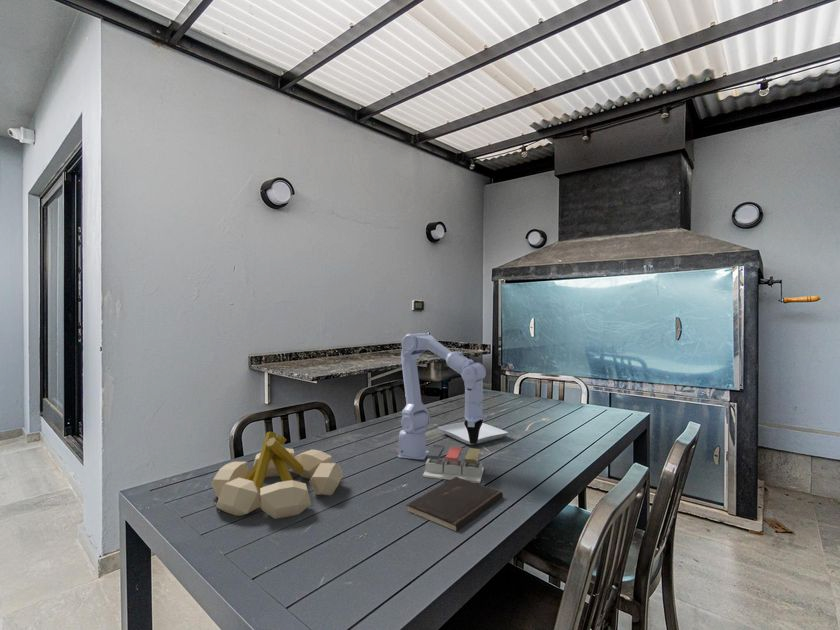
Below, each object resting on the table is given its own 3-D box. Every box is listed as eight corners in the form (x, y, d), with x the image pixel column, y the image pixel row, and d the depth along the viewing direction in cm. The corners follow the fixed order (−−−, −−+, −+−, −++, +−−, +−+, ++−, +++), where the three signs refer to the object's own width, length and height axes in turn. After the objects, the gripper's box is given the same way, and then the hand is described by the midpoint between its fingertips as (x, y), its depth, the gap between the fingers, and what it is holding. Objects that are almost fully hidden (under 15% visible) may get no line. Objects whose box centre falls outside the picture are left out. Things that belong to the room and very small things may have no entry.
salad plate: (509, 439, 170) (509, 431, 169) (469, 449, 158) (469, 440, 157) (474, 426, 187) (474, 419, 187) (436, 435, 175) (436, 426, 175)
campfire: (281, 461, 145) (281, 412, 144) (362, 481, 129) (362, 426, 129) (184, 504, 114) (183, 442, 113) (274, 537, 98) (274, 465, 98)
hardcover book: (406, 512, 110) (406, 504, 110) (455, 484, 128) (456, 476, 128) (456, 534, 100) (456, 525, 100) (502, 500, 118) (503, 491, 118)
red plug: (445, 469, 130) (445, 457, 130) (451, 458, 140) (451, 446, 140) (456, 470, 129) (457, 458, 129) (461, 459, 139) (461, 447, 139)
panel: (422, 476, 132) (422, 466, 132) (430, 463, 142) (430, 454, 142) (480, 483, 127) (480, 472, 127) (483, 469, 138) (483, 459, 138)
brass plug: (464, 471, 129) (464, 458, 129) (469, 460, 139) (469, 448, 138) (476, 472, 128) (476, 460, 128) (479, 461, 138) (479, 449, 138)
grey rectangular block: (426, 467, 132) (426, 455, 132) (433, 456, 141) (433, 444, 141) (437, 468, 131) (438, 456, 131) (444, 457, 141) (444, 445, 140)
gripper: (484, 407, 126) (484, 451, 127) (488, 397, 141) (488, 437, 141) (461, 405, 128) (461, 449, 128) (467, 396, 142) (467, 435, 143)
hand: (473, 443), depth 135 cm, fingers closed
